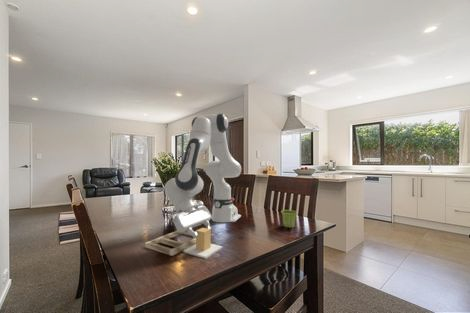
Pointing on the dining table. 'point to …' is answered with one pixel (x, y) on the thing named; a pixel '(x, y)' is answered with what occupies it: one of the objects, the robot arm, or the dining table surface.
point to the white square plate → (203, 254)
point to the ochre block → (203, 239)
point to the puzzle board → (170, 243)
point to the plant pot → (289, 218)
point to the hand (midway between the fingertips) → (203, 233)
